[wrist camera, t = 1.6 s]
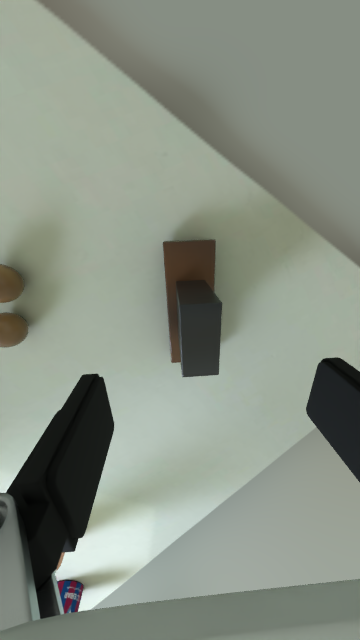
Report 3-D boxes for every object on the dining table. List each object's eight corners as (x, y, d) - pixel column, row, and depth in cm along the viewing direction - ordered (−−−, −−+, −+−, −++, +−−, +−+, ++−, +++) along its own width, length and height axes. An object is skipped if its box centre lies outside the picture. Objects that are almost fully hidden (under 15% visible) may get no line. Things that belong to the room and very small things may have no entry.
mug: (90, 585, 44) (77, 643, 37) (61, 598, 46) (45, 656, 40) (64, 577, 41) (45, 638, 35) (35, 592, 44) (13, 652, 38)
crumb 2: (-5, 308, 18) (-36, 322, 15) (29, 306, 18) (4, 320, 15) (8, 337, 19) (-19, 355, 17) (40, 335, 19) (19, 353, 17)
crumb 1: (-13, 262, 16) (-48, 268, 14) (25, 260, 17) (-4, 266, 14) (2, 297, 18) (-28, 309, 15) (37, 295, 18) (13, 307, 15)
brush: (163, 241, 17) (160, 247, 10) (211, 239, 17) (241, 244, 10) (171, 354, 21) (172, 412, 14) (209, 351, 21) (228, 408, 14)
